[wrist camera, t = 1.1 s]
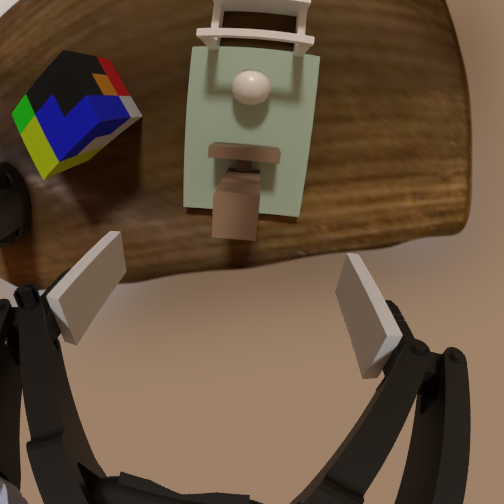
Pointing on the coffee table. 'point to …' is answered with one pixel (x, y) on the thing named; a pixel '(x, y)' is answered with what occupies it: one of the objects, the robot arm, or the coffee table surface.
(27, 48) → the coffee table surface
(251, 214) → the kicker
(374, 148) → the coffee table surface
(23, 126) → the puzzle toy
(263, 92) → the ball
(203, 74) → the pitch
